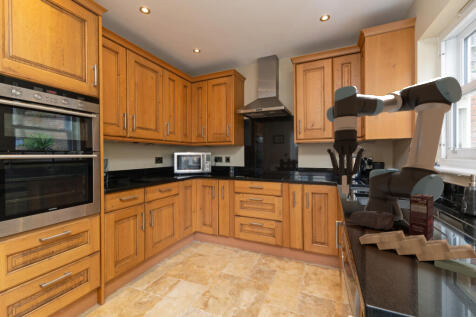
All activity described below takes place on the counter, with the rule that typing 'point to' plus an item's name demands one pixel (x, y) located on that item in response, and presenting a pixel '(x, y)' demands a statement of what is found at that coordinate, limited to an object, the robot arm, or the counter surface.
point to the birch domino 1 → (382, 237)
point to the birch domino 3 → (426, 248)
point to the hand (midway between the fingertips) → (345, 193)
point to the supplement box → (421, 216)
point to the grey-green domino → (457, 267)
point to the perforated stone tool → (373, 219)
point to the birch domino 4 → (450, 254)
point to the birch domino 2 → (404, 243)
